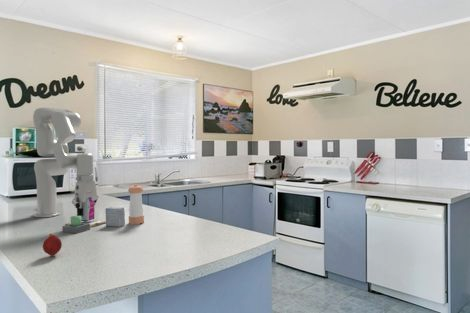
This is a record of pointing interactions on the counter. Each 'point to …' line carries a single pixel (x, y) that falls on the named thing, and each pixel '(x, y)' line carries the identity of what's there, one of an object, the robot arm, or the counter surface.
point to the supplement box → (88, 210)
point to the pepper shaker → (136, 205)
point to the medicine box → (115, 216)
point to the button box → (75, 228)
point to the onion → (52, 245)
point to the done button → (76, 221)
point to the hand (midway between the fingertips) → (85, 214)
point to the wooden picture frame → (92, 223)
